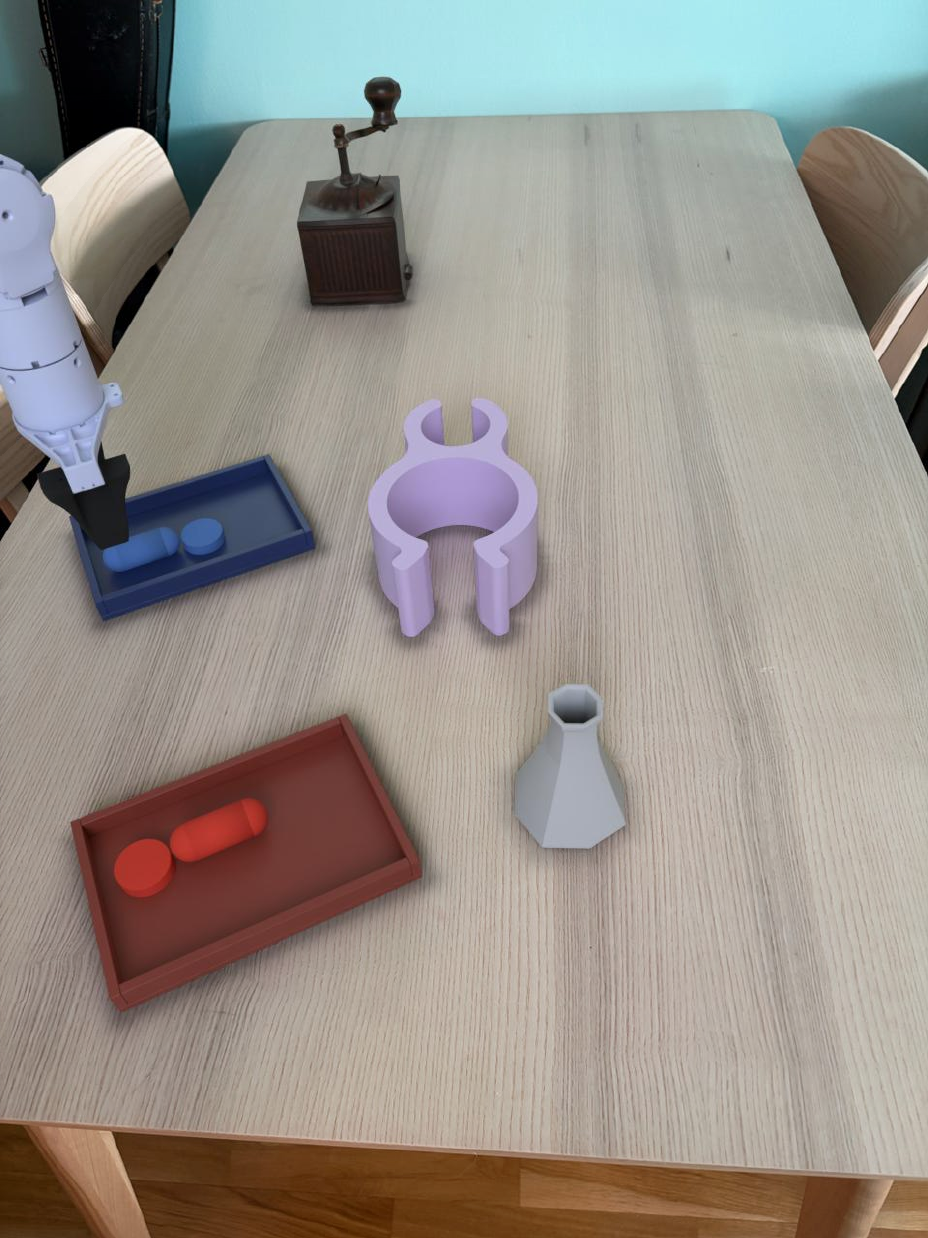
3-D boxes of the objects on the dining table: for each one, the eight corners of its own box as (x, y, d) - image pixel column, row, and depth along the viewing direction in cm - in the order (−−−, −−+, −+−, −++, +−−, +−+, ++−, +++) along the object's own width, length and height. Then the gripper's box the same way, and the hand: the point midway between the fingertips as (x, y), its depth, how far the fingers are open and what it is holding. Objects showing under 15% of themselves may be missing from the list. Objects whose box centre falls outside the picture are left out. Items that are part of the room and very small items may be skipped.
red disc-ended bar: (125, 907, 57) (112, 887, 56) (113, 860, 59) (101, 840, 58) (278, 842, 60) (271, 821, 58) (262, 799, 62) (254, 778, 60)
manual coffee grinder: (411, 302, 104) (395, 126, 91) (309, 307, 104) (278, 132, 91) (415, 235, 115) (401, 68, 102) (322, 239, 115) (296, 74, 102)
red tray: (120, 1013, 54) (109, 999, 52) (80, 838, 61) (69, 821, 60) (422, 877, 58) (420, 860, 57) (350, 730, 66) (346, 712, 64)
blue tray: (103, 621, 74) (94, 603, 73) (76, 534, 81) (68, 515, 80) (315, 548, 78) (312, 530, 77) (273, 471, 86) (269, 453, 84)
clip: (389, 467, 85) (381, 400, 80) (531, 463, 85) (532, 396, 80) (370, 637, 72) (358, 570, 67) (540, 635, 71) (541, 566, 66)
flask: (532, 866, 58) (533, 773, 51) (497, 770, 63) (494, 672, 56) (644, 835, 60) (662, 739, 52) (602, 742, 64) (612, 643, 57)
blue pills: (218, 522, 80) (212, 499, 79) (230, 546, 78) (223, 524, 77) (104, 559, 78) (94, 537, 76) (112, 586, 76) (103, 564, 74)
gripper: (123, 385, 57) (181, 554, 67) (79, 280, 66) (136, 442, 76) (0, 419, 55) (78, 587, 65) (-28, 306, 65) (44, 468, 74)
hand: (103, 511), depth 71 cm, fingers open, 7 cm apart
